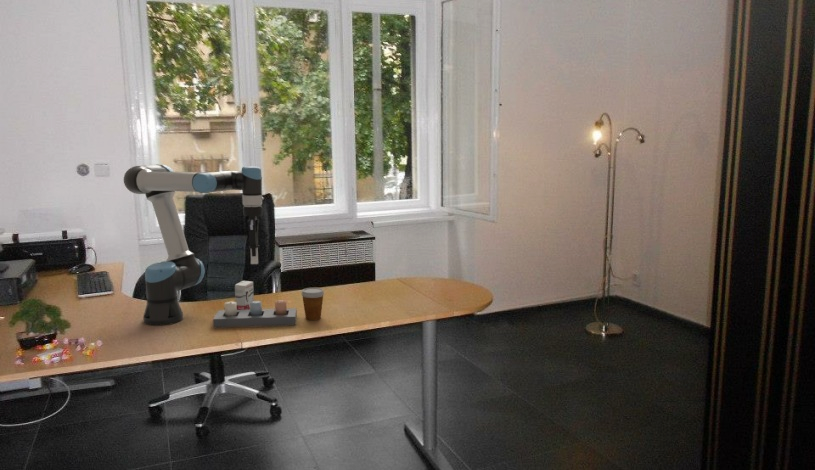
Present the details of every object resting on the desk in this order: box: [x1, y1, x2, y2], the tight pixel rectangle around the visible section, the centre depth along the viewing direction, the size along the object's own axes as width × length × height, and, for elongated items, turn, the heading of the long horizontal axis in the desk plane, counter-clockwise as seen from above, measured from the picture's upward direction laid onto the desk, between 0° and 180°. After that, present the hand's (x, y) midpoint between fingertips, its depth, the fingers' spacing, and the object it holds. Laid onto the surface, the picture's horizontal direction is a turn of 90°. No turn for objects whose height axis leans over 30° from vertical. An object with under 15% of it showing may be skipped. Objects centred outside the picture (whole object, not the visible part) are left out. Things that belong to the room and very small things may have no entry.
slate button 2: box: [249, 300, 263, 316], centre depth 242 cm, size 5×5×5 cm
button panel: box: [212, 307, 298, 329], centre depth 242 cm, size 32×12×4 cm, turn 98°
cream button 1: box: [224, 301, 237, 317], centre depth 240 cm, size 5×5×5 cm
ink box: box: [234, 280, 255, 310], centre depth 259 cm, size 9×5×12 cm, turn 168°
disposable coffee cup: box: [301, 287, 325, 321], centre depth 248 cm, size 10×10×12 cm
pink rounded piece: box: [274, 299, 288, 315], centre depth 243 cm, size 5×5×5 cm
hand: (254, 263), depth 238 cm, fingers closed
